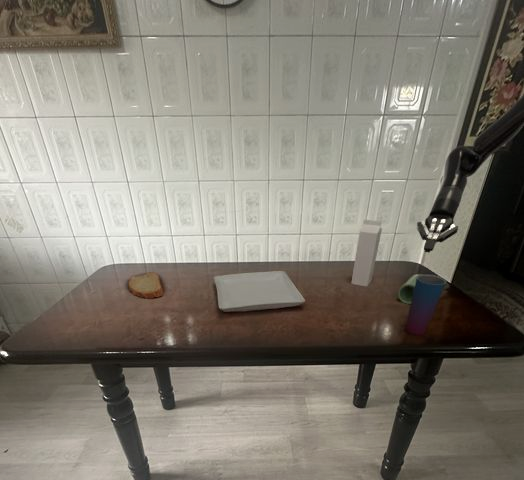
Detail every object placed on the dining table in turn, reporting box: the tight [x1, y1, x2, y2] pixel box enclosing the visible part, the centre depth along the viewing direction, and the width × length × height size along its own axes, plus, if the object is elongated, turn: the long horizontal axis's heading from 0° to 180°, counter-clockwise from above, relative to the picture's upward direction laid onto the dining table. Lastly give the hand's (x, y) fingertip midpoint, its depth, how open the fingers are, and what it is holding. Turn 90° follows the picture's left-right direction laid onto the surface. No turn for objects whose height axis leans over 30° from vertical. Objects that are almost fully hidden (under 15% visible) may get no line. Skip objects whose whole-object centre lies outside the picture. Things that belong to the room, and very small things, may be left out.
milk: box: [350, 219, 383, 288], centre depth 107 cm, size 6×6×22 cm
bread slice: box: [127, 271, 164, 299], centre depth 111 cm, size 18×18×4 cm
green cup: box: [397, 273, 422, 305], centre depth 100 cm, size 7×7×11 cm
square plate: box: [213, 270, 306, 313], centre depth 103 cm, size 27×27×4 cm
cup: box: [405, 274, 447, 336], centre depth 80 cm, size 7×7×15 cm
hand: (427, 251), depth 99 cm, fingers closed
